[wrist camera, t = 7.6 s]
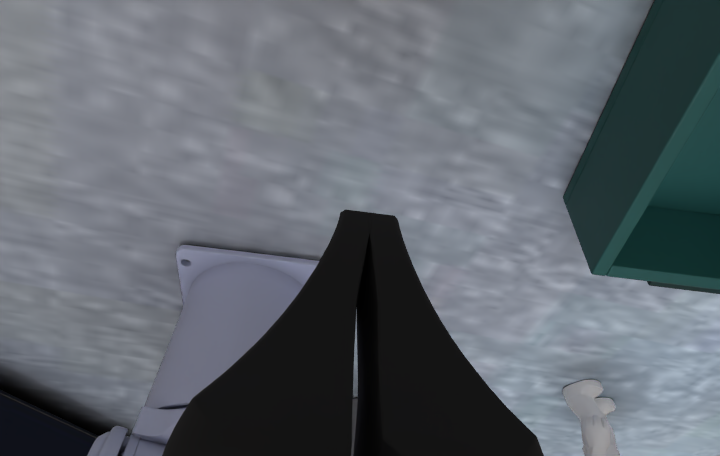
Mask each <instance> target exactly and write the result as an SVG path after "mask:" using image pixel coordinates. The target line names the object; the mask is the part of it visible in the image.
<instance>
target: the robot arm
mask: <svg viewBox="0 0 720 456" xmlns="http://www.w3.org/2000/svg"><path fill="white" fill-rule="evenodd" d="M185 259H186V260H189V261H186V260H185ZM176 260H177V266H178V273H179V280H180V286H181V293H182V300H183V309H182V311H181V314H180V316H179V319H178V321H177V324H176V327H175V329H174V332H173V334H172V337H171V339H170V342H169V344H168V347H167V350H166V352H165V355H164V357H163V360H162V362H161V365H160V368H159V370H158V373H157V375H156V378H155V380H154V383H153V386H152V388H151V391H150V393H149V396H148V398H147V401H146V403H145V406H144V407H142V408H141V410H140V413H139V415H138V418H137V420H136V423H135V425H134V428H133V430H132V433H131V435H130V437H128V436H126V435H127V432H128V429H127V428H124V427H121V426H115V427H113V428H112V430H111V431H110V432H106V433H104V434H102V435H101V436H99V437H97V438H96V440H95V441H94V443H93V445H92V447H91V449H90V451H89V453H88V455H87V456H351V448H352V403H353V367H354V342H355V321H356V308H357V349H358V403H357V416H356V428H355V441H354V453H353V456H544V455H543V453H542V450H541V447H540V444H539V442H538V439H537V437H536V436H535V435H534V434H533V433H532V432H531V431H530V430H529V429H528V428H527V427H526V426H525V425H524V424H523V423H522V422H521V421H520V420H519V419H518V418H517V417H516V416H515V415H514V414H513V413H512V412H511V411H510V410H509V409H508V408H507V407H506V406H505V405H504V404H503V403H502V401H501V400H500V399H499V398H498V397H497V396H496V395H495V393H494V392H493V391H492V390H491V389H490V388H489V387H488V386H487V384H486V383H485V382H484V380H483V379H482V378H481V377H480V375H479V374H478V373H477V372H476V370H475V369H474V368H473V367H472V365H471V364H470V363H469V361H468V360H467V359H466V358H465V356H464V355H463V354H462V352H461V351H460V349H459V348H458V346H457V345H456V343H455V342H454V341H453V339H452V338H451V336H450V335H449V333H448V331H447V330H446V328H445V327H444V325H443V323H442V322H441V320H440V318H439V317H438V315H437V313H436V311H435V310H434V308H433V306H432V304H431V302H430V300H429V299H428V297H427V295H426V293H425V291H424V289H423V287H422V285H421V283H420V280H419V278H418V276H417V274H416V271H415V269H414V267H413V265H412V262H411V260H410V257H409V255H408V252H407V249H406V246H405V244H404V241H403V238H402V234H401V231H400V227H399V223H398V220H397V218H396V217H395V216H392V215H384V214H376V213H368V212H360V211H352V210H344V211H343V212H341V213H340V217H339V221H338V224H337V227H336V230H335V232H334V234H333V236H332V239H331V241H330V243H329V245H328V247H327V249H326V250H325V252H324V254H323V256H322V258H321V259H320V261H316V260H308V259H300V258H291V257H283V256H275V255H266V254H258V253H250V252H242V251H233V250H225V249H217V248H208V247H200V246H192V245H181V246H179V247H178V249H177V251H176Z"/></svg>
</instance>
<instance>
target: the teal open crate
mask: <svg viewBox="0 0 720 456" xmlns="http://www.w3.org/2000/svg"><path fill="white" fill-rule="evenodd" d="M563 199H564V202H565V204H566V207H567V210H568V212H569V215H570V218H571V220H572V223H573V226H574V228H575V231H576V234H577V236H578V239H579V242H580V244H581V247H582V250H583V252H584V255H585V258H586V260H587V263H588V266H589V268H590V271H591V273H592V274H594V275H603V276H605V275H606V276H611V277H619V278H627V279H635V280H643V281H647V282H648V284H649V285H651V286H659V287H667V288H675V289H683V290H691V291H700V292H708V293H716V294H720V0H655V1H654V4H653V6H652V8H651V10H650V12H649V14H648V16H647V19H646V21H645V23H644V25H643V27H642V29H641V31H640V34H639V36H638V38H637V40H636V42H635V44H634V46H633V49H632V51H631V53H630V55H629V57H628V59H627V61H626V64H625V66H624V68H623V70H622V72H621V74H620V76H619V79H618V81H617V83H616V85H615V87H614V89H613V91H612V94H611V96H610V98H609V100H608V102H607V104H606V106H605V109H604V111H603V113H602V115H601V117H600V119H599V121H598V124H597V126H596V128H595V130H594V132H593V134H592V136H591V139H590V141H589V143H588V145H587V147H586V149H585V151H584V154H583V156H582V158H581V160H580V162H579V164H578V166H577V169H576V171H575V173H574V175H573V177H572V179H571V181H570V184H569V186H568V188H567V190H566V192H565V194H564V196H563Z"/></svg>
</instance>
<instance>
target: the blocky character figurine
mask: <svg viewBox="0 0 720 456" xmlns="http://www.w3.org/2000/svg"><path fill="white" fill-rule="evenodd" d="M562 392H563V395H564V398H565V400H566V403H567V405H568V406H569V408H570V409H571V410H572V411H573V412H574V413H575V415H576V416H577V417H578V418H579V419H580V421H581V431H582V439H583V443H584V445H583V448H582V449H583V452H584V455H585V456H620V454H619V451H618V450H617V445H616V441H615V435H614V431H613V429H612V427H611V425H610V424H609V422H608V419H607V417H606V415H607V414H608V413H610V412H613V411H615V409H616V408H615V404H614V401H613V400H612V399H611V398H604V397H602V398H596V397H597V396H599V395H600V394H601V393H603V387H602V385H601V383H600V382H599V381H597V380H591V379H590V380H583V381H579V382H576V383H573V384H571V385H568V386H566V387H565V388H563V391H562Z"/></svg>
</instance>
